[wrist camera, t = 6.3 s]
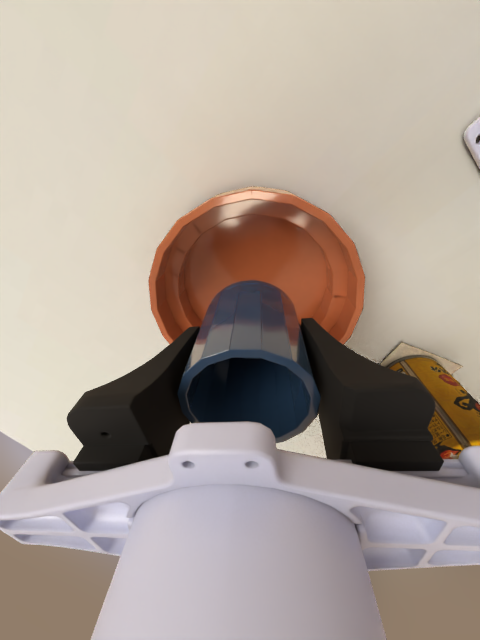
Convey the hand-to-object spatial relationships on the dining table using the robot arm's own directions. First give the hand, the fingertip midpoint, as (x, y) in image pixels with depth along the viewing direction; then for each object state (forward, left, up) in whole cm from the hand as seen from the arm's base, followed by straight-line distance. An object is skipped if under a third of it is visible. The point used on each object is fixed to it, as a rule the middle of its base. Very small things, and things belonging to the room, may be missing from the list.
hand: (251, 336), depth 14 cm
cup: (0, 0, -2) cm, 2 cm away
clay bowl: (0, 0, -8) cm, 8 cm away
